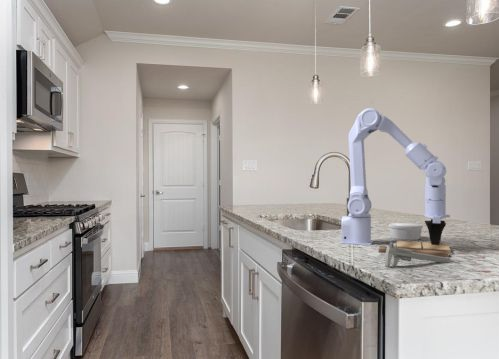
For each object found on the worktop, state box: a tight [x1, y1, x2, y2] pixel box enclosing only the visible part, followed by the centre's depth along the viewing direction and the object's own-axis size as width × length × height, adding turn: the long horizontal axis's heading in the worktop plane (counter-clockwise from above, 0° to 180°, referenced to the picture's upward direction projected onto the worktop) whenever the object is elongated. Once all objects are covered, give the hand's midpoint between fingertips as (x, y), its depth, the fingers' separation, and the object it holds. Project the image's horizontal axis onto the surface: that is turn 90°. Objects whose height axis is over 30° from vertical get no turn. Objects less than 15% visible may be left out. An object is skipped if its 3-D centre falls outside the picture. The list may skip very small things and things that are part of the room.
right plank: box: [421, 241, 452, 255], centre depth 114 cm, size 7×11×1 cm, turn 158°
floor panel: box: [378, 245, 450, 258], centre depth 109 cm, size 18×4×1 cm, turn 68°
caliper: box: [384, 242, 455, 268], centre depth 96 cm, size 20×1×6 cm, turn 108°
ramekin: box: [388, 222, 423, 241], centre depth 136 cm, size 11×11×5 cm
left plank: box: [395, 240, 423, 249], centre depth 117 cm, size 7×11×1 cm, turn 158°
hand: (435, 244), depth 117 cm, fingers closed on right plank
